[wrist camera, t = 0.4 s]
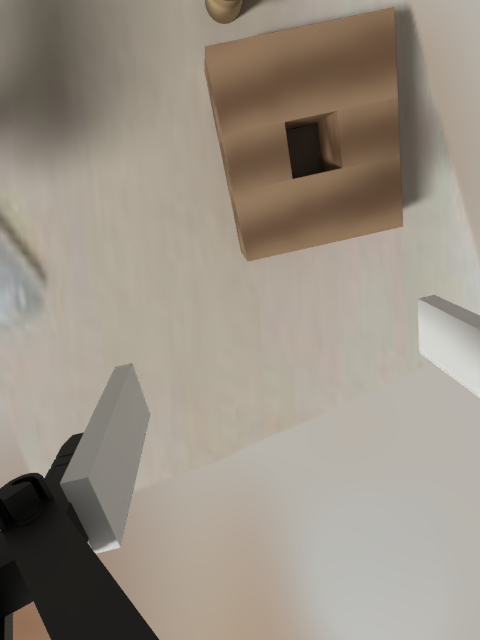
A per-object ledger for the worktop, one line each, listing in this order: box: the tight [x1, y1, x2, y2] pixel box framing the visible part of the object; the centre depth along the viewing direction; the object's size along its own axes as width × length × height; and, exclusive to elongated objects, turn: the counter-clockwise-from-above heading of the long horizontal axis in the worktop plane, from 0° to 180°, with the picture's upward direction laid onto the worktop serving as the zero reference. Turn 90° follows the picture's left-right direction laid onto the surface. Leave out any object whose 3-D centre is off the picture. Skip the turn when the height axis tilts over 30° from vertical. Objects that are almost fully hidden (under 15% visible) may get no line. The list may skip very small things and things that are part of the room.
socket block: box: [205, 7, 403, 261], centre depth 35 cm, size 18×16×6 cm
